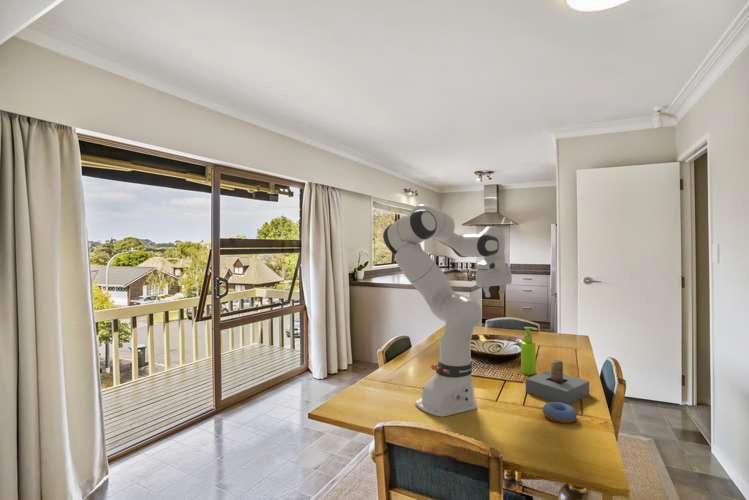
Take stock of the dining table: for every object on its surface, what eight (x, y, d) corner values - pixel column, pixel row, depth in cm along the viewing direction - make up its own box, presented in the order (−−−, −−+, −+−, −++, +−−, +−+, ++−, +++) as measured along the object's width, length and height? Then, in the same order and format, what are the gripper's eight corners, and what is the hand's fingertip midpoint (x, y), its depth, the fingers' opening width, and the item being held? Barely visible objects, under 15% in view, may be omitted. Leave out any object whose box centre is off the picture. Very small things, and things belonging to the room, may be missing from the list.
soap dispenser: (536, 376, 163) (535, 329, 163) (519, 373, 167) (519, 327, 167) (539, 372, 168) (539, 327, 167) (523, 369, 172) (523, 325, 171)
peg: (559, 396, 142) (559, 364, 142) (549, 392, 145) (548, 361, 145) (565, 393, 145) (564, 361, 144) (554, 390, 148) (554, 359, 148)
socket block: (567, 405, 134) (567, 391, 134) (525, 391, 147) (525, 378, 147) (589, 394, 143) (589, 381, 143) (548, 382, 156) (548, 370, 156)
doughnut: (576, 427, 118) (575, 411, 119) (541, 422, 123) (540, 407, 124) (577, 417, 127) (576, 403, 127) (544, 412, 132) (544, 399, 132)
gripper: (503, 262, 174) (503, 293, 174) (473, 264, 162) (473, 297, 162) (515, 263, 169) (515, 294, 169) (485, 265, 157) (485, 299, 157)
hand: (494, 295), depth 166 cm, fingers open, 8 cm apart
